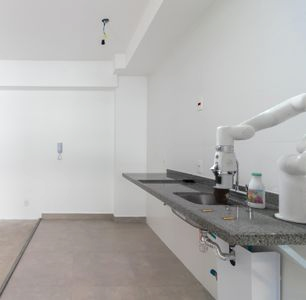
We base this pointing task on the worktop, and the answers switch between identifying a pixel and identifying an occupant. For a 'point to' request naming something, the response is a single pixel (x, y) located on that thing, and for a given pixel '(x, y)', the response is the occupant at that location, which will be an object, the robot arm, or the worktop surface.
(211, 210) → the tape marks
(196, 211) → the worktop surface
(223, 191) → the coffee mug
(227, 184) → the pot
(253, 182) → the milk bottle
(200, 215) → the worktop surface
